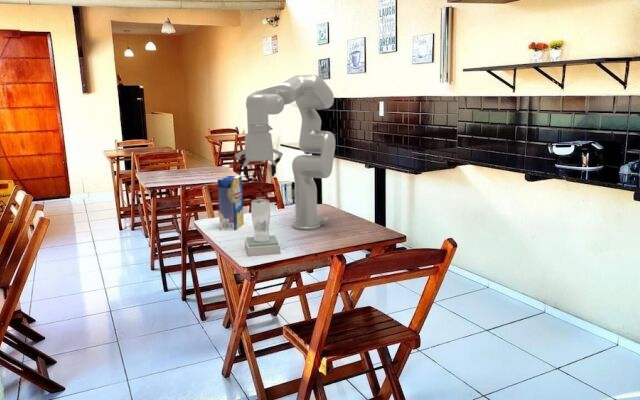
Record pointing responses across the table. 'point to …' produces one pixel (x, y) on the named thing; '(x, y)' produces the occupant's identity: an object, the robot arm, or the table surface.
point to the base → (262, 246)
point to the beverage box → (230, 202)
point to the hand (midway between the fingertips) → (259, 176)
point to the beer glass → (260, 219)
